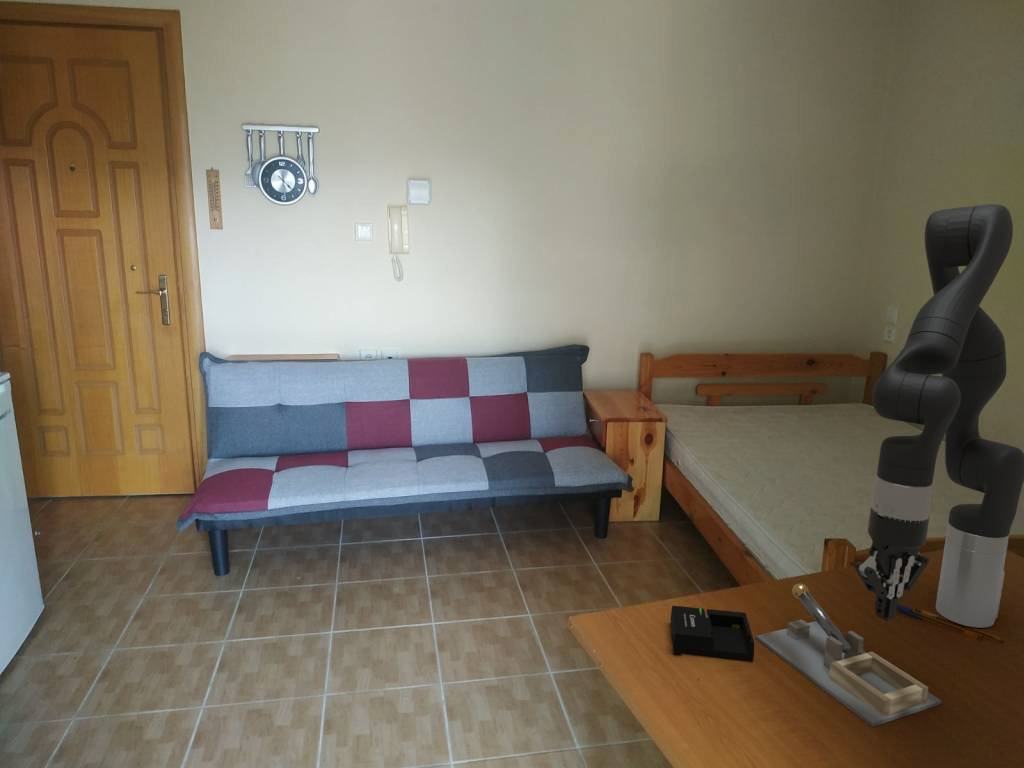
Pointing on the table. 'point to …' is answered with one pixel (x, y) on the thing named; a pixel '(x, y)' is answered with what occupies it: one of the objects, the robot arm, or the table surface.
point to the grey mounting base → (850, 673)
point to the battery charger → (711, 633)
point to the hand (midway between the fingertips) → (884, 617)
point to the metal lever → (820, 615)
